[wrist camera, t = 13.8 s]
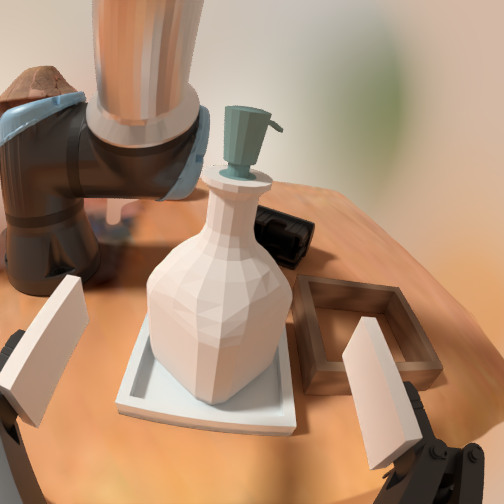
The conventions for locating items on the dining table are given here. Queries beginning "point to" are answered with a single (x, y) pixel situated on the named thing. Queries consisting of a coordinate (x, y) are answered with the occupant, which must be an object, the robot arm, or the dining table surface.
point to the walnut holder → (364, 300)
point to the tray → (202, 414)
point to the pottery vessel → (34, 87)
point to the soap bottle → (222, 279)
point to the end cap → (283, 235)
